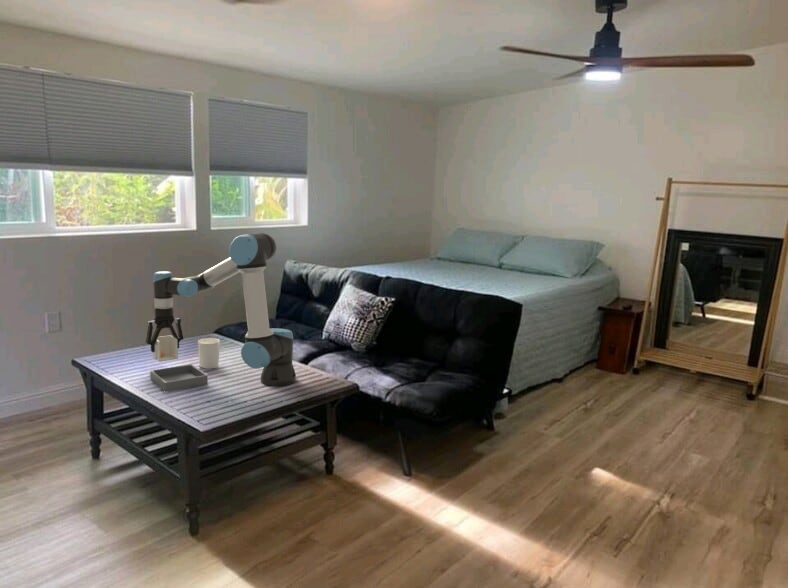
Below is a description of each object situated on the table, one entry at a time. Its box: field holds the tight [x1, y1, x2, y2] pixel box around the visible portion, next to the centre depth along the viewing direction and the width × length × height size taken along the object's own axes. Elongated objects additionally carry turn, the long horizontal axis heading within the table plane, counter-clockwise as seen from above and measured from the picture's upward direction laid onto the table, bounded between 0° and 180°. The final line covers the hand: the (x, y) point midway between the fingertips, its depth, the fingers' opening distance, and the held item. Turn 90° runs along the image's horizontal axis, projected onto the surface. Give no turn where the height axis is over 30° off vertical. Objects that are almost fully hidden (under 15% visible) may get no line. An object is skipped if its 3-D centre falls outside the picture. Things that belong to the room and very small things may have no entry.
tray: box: [149, 363, 209, 393], centre depth 236 cm, size 18×18×4 cm
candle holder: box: [197, 337, 221, 369], centre depth 258 cm, size 10×10×12 cm
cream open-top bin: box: [155, 334, 179, 363], centre depth 247 cm, size 8×8×9 cm
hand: (165, 357), depth 248 cm, fingers closed on cream open-top bin, 8 cm apart
